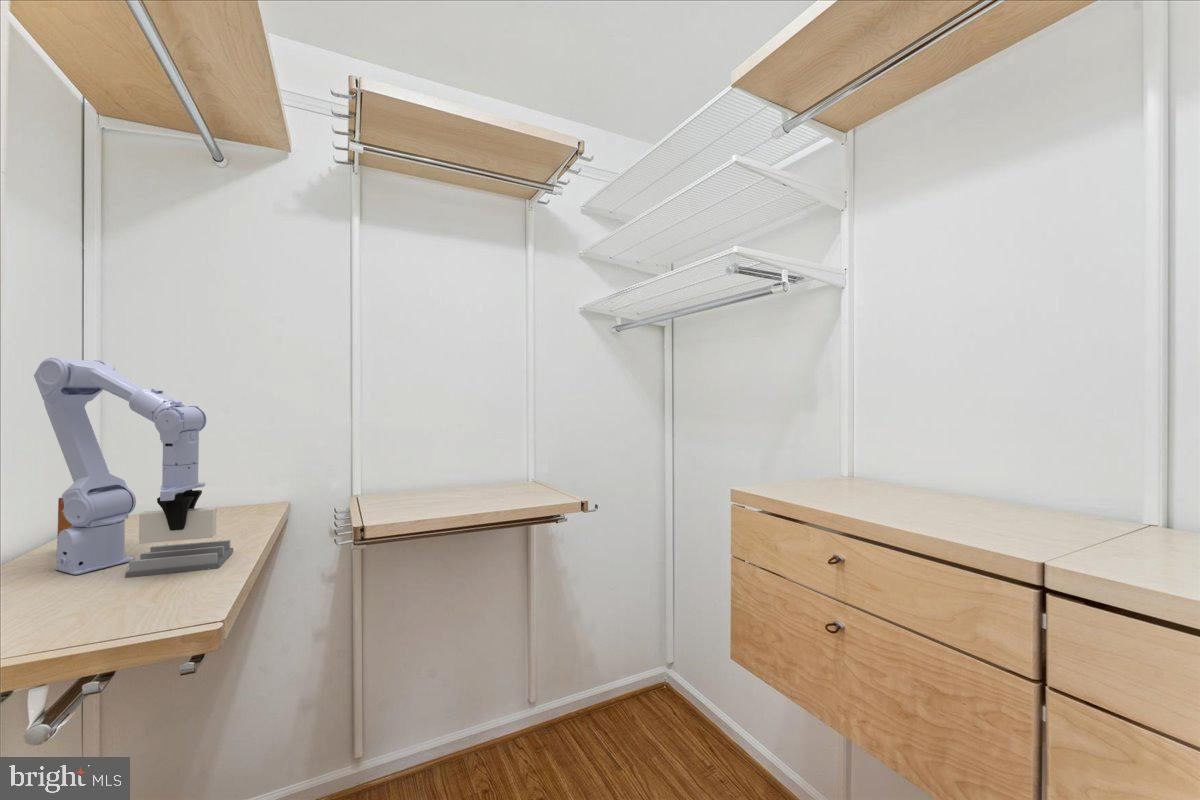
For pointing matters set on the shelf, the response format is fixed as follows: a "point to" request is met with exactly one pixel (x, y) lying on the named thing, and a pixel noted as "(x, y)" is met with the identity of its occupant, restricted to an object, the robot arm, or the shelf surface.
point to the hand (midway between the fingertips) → (179, 527)
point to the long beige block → (196, 527)
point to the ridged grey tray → (180, 558)
